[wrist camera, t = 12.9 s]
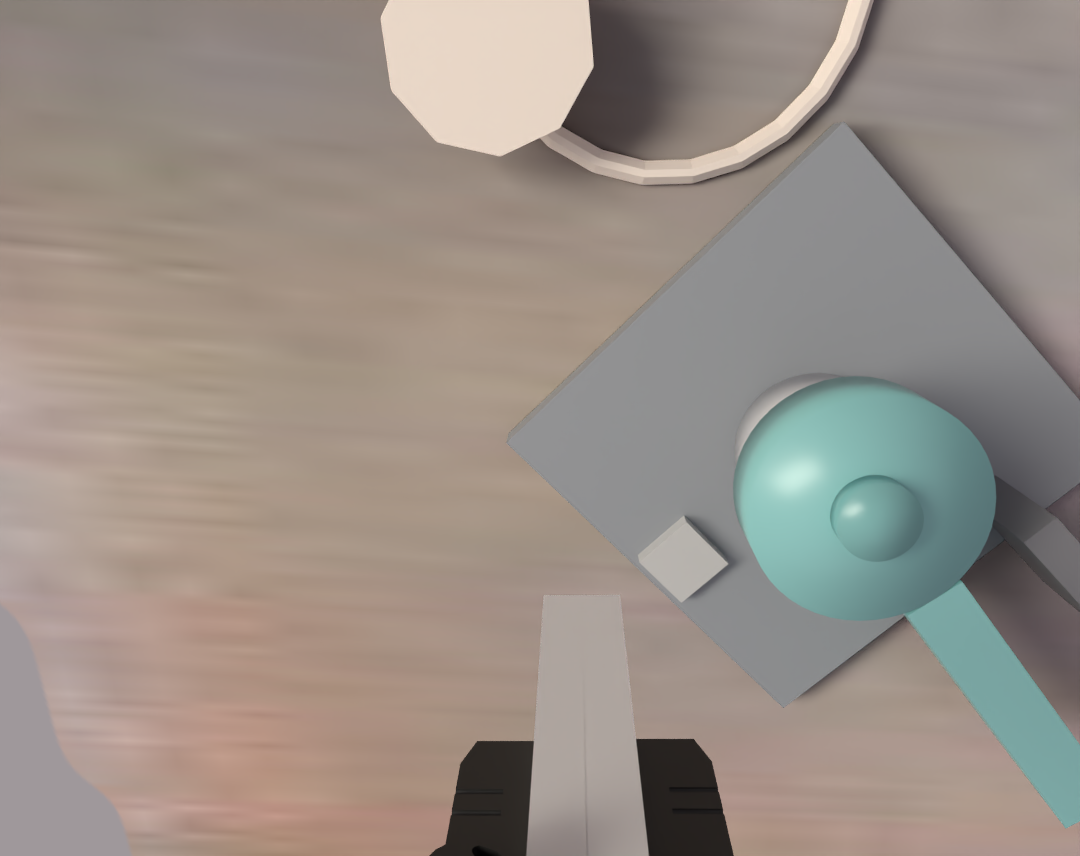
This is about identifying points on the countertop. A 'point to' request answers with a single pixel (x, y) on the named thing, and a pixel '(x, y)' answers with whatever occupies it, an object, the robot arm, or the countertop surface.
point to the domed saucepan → (896, 545)
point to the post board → (772, 325)
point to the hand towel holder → (551, 82)
